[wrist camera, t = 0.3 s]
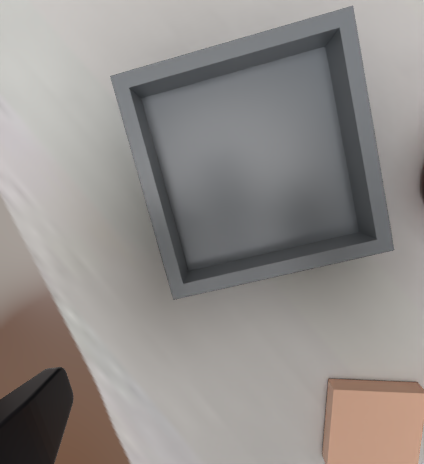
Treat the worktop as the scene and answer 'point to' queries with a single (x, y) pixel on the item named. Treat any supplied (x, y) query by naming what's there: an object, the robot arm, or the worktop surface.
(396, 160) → the worktop surface
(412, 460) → the tile
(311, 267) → the tray
